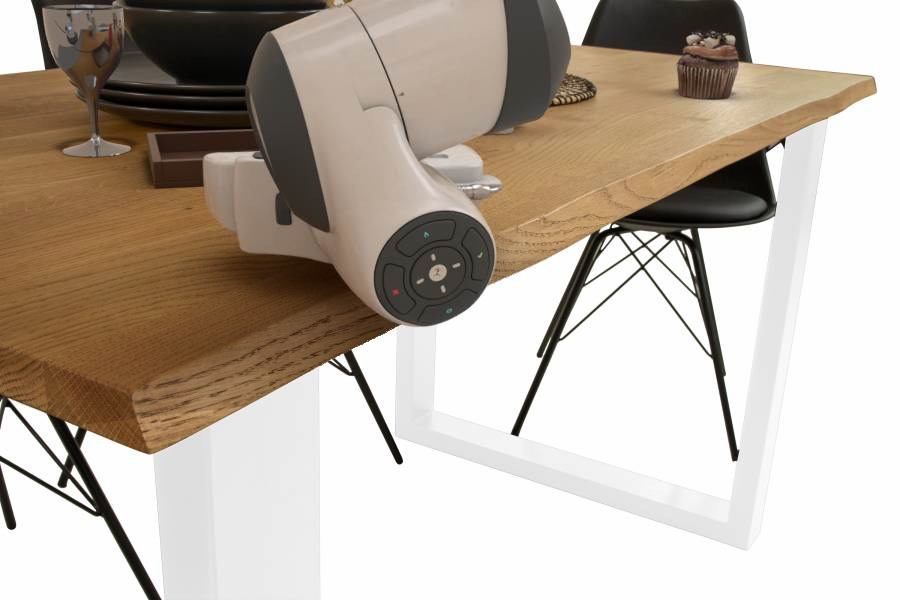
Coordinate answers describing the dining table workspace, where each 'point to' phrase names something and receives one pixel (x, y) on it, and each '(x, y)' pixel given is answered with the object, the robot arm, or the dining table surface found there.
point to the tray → (191, 154)
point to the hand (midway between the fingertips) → (326, 157)
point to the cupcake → (708, 66)
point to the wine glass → (87, 59)
